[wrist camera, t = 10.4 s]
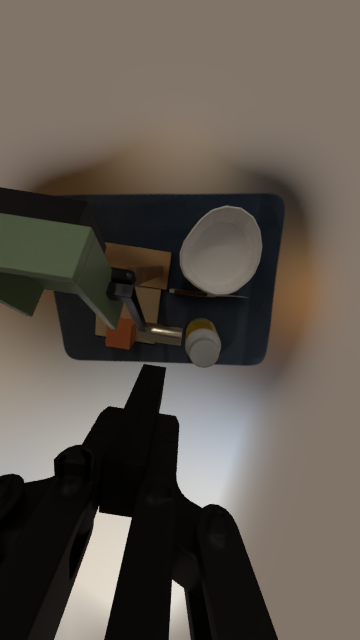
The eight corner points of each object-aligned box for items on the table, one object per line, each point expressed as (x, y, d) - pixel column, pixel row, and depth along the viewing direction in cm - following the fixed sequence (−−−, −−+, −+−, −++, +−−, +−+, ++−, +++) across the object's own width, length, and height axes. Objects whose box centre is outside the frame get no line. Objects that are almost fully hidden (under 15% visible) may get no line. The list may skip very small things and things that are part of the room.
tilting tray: (185, 312, 26) (179, 353, 24) (64, 293, 26) (49, 333, 24) (205, 213, 11) (194, 297, 9) (-69, 170, 11) (-134, 246, 9)
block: (129, 349, 32) (131, 326, 31) (105, 346, 32) (106, 323, 31) (135, 340, 36) (137, 320, 35) (114, 337, 36) (115, 316, 35)
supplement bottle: (221, 331, 36) (233, 354, 26) (200, 350, 37) (204, 379, 27) (200, 310, 35) (204, 327, 25) (179, 331, 36) (176, 354, 27)
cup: (179, 284, 34) (176, 292, 24) (185, 220, 31) (183, 201, 21) (235, 289, 33) (254, 299, 24) (246, 225, 31) (271, 208, 21)
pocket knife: (169, 292, 34) (168, 294, 32) (170, 287, 34) (169, 289, 32) (248, 299, 34) (252, 301, 32) (249, 294, 34) (253, 296, 32)
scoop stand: (167, 289, 34) (145, 314, 17) (92, 277, 34) (-5, 291, 17) (171, 252, 32) (153, 240, 15) (93, 240, 32) (-14, 214, 15)
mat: (98, 279, 34) (97, 279, 34) (161, 289, 34) (160, 289, 34) (96, 334, 37) (95, 334, 36) (154, 343, 37) (154, 344, 36)
